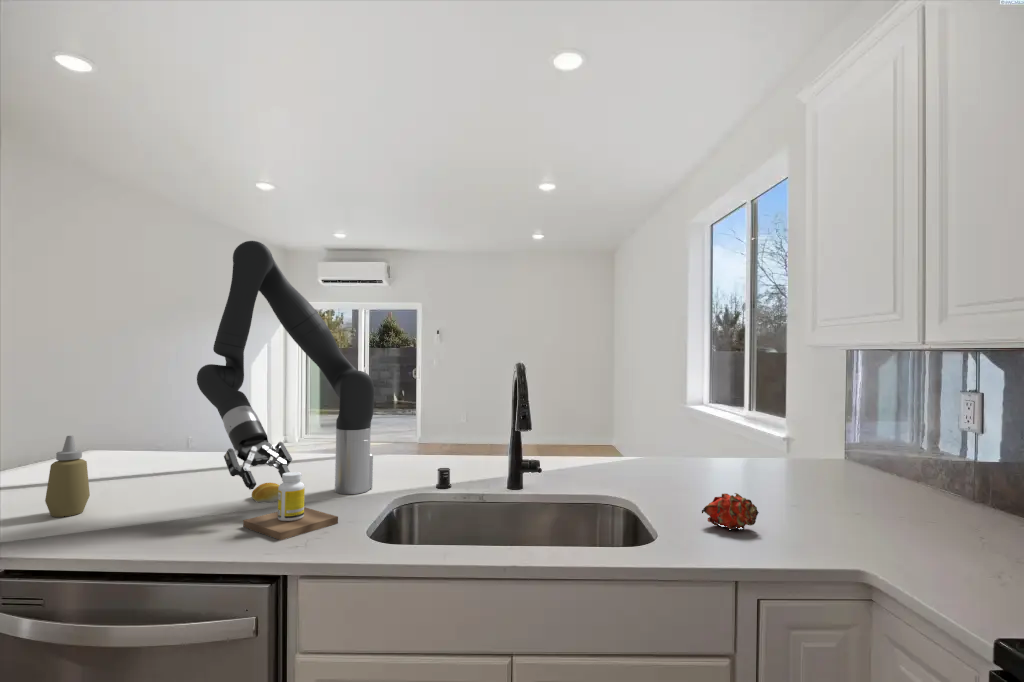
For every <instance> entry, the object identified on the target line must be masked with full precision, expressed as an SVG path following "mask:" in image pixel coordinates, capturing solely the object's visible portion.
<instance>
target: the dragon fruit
mask: <svg viewBox="0 0 1024 682" xmlns="http://www.w3.org/2000/svg"><path fill="white" fill-rule="evenodd" d="M734 495H735V496H734ZM734 495H733V494H732V495H730V494H728V493H721V496H714V498H713V499H712V501H711V502H709V503H708V504H707V505H705V506H704V508H702V510H701V514H703V513H704V514H706V515H707V516H709V517H707V522H708V523H711V524H714V525H713V526H716V525H718V524H720V525H724V526H728V527H727V529H728V528H729V529H735V530H737V529H736V527H737V528H740V527H742V528H744V529H745V526H746V525H747V526H754V525H755V524H756V520H757V517H758V515H759V514H760V512H759V510H758V508H757V506H756V505H755V504H754V503H753V501H752V500H751V499H748V498H746V497H743V496H741V495H740V494H739V493H737V492H735V493H734ZM733 527H734V528H733Z"/></svg>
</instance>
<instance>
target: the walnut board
mask: <svg viewBox="0 0 1024 682" xmlns="http://www.w3.org/2000/svg"><path fill="white" fill-rule="evenodd" d="M338 523H339V516H338V515H333V514H331V513H326V512H322V511H319V510H316V509H312V508H309V507H305V506H304V516H303V518H301V519H299V520H295V521H281V520H279V519H278V511H274V512H272V513H267V514H262V515H259V516H255V517H250V518H246V519H244V520H243V521H242V524H243V528H244V527H246V528H245V529H247V528H249V529H248V530H250V529H251V531H253V530H254V532H256V533H258V532H260V533H259V534H261V533H262V535H264V534H265V535H264V536H267V535H268V537H270V536H271V537H270V538H273V537H274V539H275V538H276V540H278V539H279V541H283V540H287V539H289V538H293V537H296V535H297V536H300V535H304V534H306V533H310V532H314V531H316V530H321V529H324V528H328V527H330V526H334V525H337V524H338ZM292 536H293V537H292ZM286 538H287V539H286Z"/></svg>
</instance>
